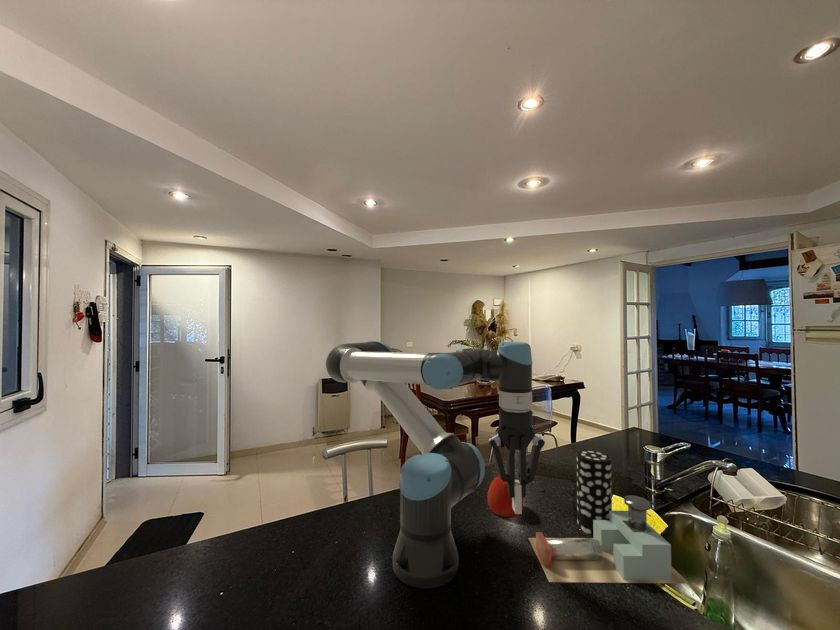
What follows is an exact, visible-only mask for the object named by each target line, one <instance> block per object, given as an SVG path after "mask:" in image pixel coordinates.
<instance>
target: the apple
mask: <svg viewBox="0 0 840 630" xmlns="http://www.w3.org/2000/svg"><path fill="white" fill-rule="evenodd" d="M486 498H487V505H488V507H489V510H490V511H491V512H492V513H493V514H495V515H496V516H499V517H501V518H514V517H517V516H518V517H519V516H520V515H521V514H515V512H514V510H513V508H512V498H510V496H509V494H508V482H503V481H502V479H501V477H500V475H498V476H496V477H494V479H493V480H492V481H491V483H490V485H489V488H488V491H487V496H486ZM523 509H524V498H522V510H523Z"/></svg>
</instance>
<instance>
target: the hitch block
mask: <svg viewBox="0 0 840 630" xmlns="http://www.w3.org/2000/svg"><path fill="white" fill-rule="evenodd" d="M592 536H593V537H592V538H593V539H597V540H598V541H599V542H600V544H601V547H602V551H613V555H614V568H615V569H616V570H617V572H618V573H619V574H620V576H621V577H622V578H623V579H624V580H671V566H672V544H671V543H670V542H669V541H668V540H666V538H664V537H663V536H662V535H661V534H660V533H658V532H657V531H656V530H655V528H653V527H652V526H651V525H650V524H648V523H647V530H645V531H639V530H635V529H633V528H631V527H630V526H629V524H628V510H614V509H612V510H609V520H593V535H592Z"/></svg>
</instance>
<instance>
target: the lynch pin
mask: <svg viewBox="0 0 840 630" xmlns="http://www.w3.org/2000/svg"><path fill="white" fill-rule="evenodd" d="M535 538H536V550H537V552H538V554H539V556H540V558H541V560H542V562H543V564H544V566H545V568H551V560H602V559H603V551H602V547H601V544H600V542H599V541H598V540H597V539H545V538H546V537H545V536H544V533H543V532H542V531H535Z"/></svg>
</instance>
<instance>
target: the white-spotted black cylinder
mask: <svg viewBox="0 0 840 630" xmlns="http://www.w3.org/2000/svg"><path fill="white" fill-rule="evenodd" d="M612 476H613V475H612V457H611V455H609V454H608V453H606V452H603V451H599V450H594V449H580V450H578V451H576V519H577V520H576V522H577V527H578V528H579V529H580V530H581V531H582V532H584V533H585V534H588V535H590V536H593V520H609V510H613V500H612V496H613V495H612V494H613V493H612V491H613V489H612V487H613V485H612V484H613V483H612Z"/></svg>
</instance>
